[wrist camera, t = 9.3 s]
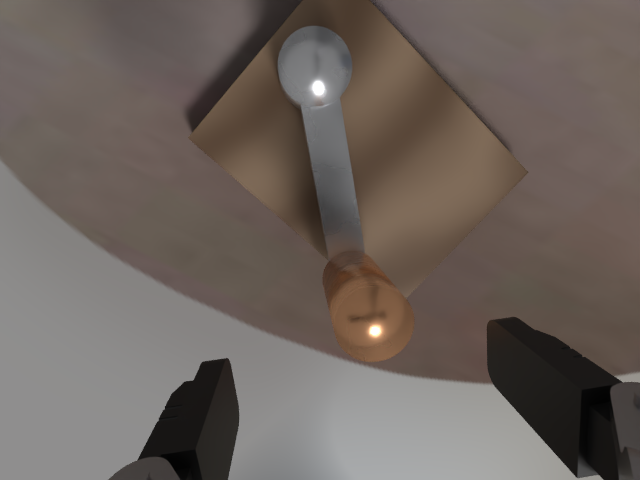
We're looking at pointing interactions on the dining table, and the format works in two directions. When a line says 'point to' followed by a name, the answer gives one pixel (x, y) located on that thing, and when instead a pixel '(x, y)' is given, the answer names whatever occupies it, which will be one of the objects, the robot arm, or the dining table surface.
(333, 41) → the lever
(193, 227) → the dining table surface
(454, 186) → the lever board
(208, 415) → the robot arm
